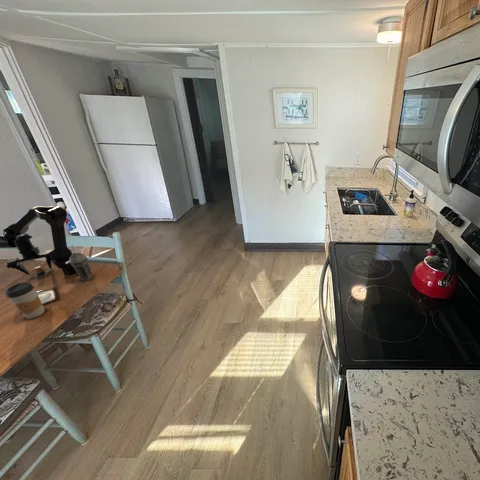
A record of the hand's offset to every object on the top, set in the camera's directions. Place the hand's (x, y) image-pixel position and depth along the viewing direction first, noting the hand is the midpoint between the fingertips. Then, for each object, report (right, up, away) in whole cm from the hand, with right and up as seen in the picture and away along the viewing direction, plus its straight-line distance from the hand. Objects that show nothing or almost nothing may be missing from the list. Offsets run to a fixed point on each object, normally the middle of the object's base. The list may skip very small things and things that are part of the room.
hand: (40, 271), depth 147 cm
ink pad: (0, -2, +1) cm, 2 cm away
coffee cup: (+26, -16, -27) cm, 41 cm away
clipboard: (+19, -11, -18) cm, 28 cm away
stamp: (0, -1, +1) cm, 1 cm away
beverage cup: (+29, -4, -3) cm, 29 cm away
